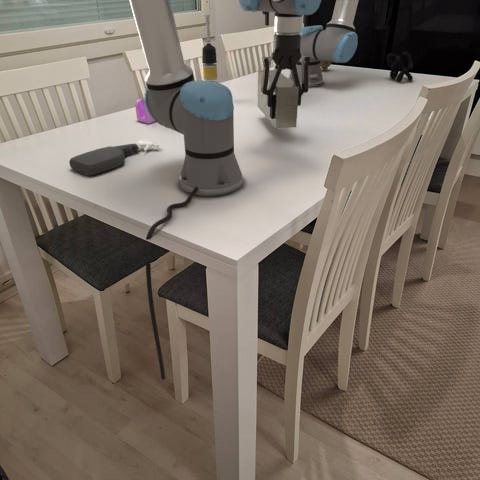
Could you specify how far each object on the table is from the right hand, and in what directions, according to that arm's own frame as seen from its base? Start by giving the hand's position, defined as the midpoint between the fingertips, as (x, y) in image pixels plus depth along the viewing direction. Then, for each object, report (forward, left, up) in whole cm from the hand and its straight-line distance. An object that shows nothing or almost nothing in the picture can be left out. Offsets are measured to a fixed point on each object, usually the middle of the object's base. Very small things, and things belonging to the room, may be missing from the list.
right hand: (286, 24), depth 153 cm
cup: (-67, +3, -28) cm, 72 cm away
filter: (-2, -30, -28) cm, 41 cm away
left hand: (+35, +9, -21) cm, 42 cm away
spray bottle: (+66, -30, -28) cm, 78 cm away
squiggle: (-55, +39, -28) cm, 73 cm away
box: (+27, +4, -24) cm, 36 cm away
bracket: (+27, -39, -28) cm, 55 cm away
